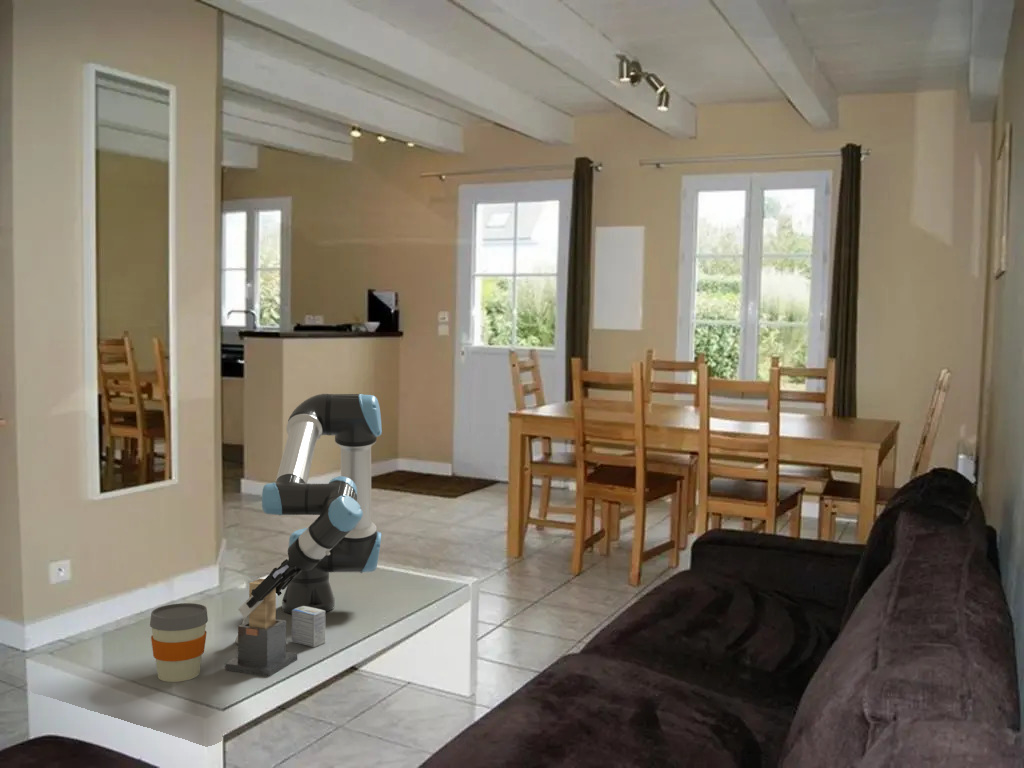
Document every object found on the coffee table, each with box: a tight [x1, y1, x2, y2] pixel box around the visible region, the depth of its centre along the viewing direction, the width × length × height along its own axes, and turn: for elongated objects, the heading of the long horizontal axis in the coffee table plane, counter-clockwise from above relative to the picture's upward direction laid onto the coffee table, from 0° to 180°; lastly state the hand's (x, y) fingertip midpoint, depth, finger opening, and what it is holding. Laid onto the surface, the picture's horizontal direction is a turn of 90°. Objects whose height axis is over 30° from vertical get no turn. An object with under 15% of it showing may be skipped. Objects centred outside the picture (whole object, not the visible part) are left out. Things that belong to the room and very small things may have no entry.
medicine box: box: [291, 606, 326, 648], centre depth 229 cm, size 8×4×9 cm, turn 59°
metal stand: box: [224, 619, 298, 677], centre depth 212 cm, size 12×12×10 cm
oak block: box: [248, 578, 277, 628], centre depth 212 cm, size 5×5×18 cm
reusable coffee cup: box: [149, 602, 209, 683], centre depth 205 cm, size 12×13×15 cm
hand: (248, 610), depth 213 cm, fingers closed on oak block, 4 cm apart
